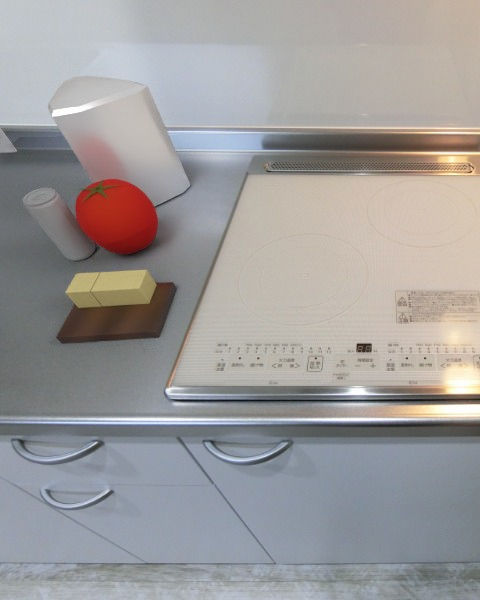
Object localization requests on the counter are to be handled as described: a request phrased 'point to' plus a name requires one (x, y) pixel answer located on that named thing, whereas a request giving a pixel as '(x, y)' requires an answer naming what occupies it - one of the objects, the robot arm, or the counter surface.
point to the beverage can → (59, 223)
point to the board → (119, 319)
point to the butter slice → (83, 290)
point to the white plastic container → (119, 134)
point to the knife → (5, 143)
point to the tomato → (117, 216)
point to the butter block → (124, 288)
